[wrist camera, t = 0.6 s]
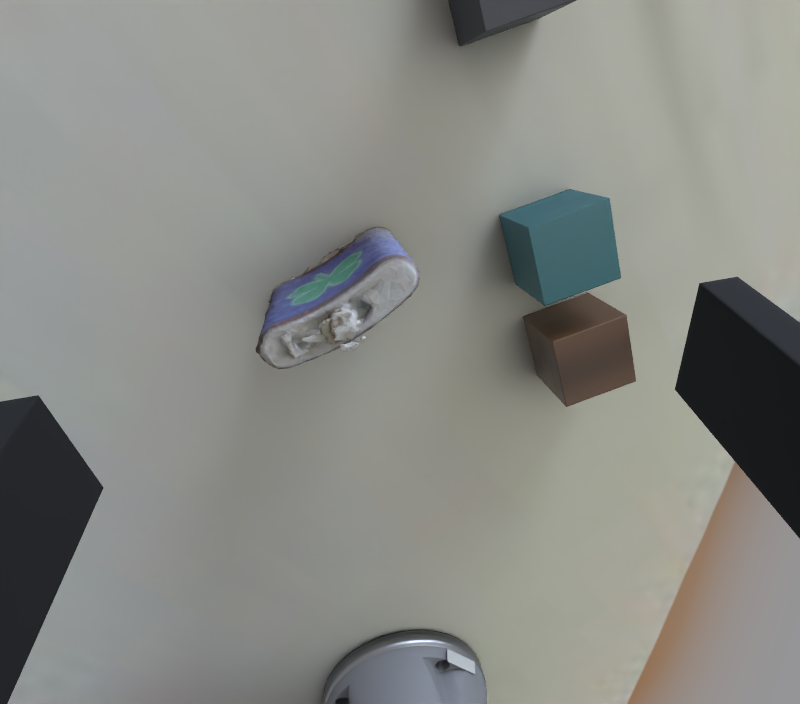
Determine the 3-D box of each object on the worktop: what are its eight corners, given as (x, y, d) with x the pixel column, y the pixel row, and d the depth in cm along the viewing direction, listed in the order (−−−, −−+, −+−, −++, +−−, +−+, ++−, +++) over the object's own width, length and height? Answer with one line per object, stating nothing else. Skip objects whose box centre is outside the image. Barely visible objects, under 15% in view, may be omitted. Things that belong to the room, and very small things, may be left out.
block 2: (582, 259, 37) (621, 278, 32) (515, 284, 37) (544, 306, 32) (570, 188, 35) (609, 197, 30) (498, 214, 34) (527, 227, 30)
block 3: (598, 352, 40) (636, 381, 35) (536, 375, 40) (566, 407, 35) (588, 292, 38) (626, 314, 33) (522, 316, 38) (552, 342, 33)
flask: (382, 217, 33) (413, 255, 24) (405, 256, 35) (443, 307, 25) (260, 293, 34) (240, 360, 24) (286, 329, 35) (277, 406, 25)
